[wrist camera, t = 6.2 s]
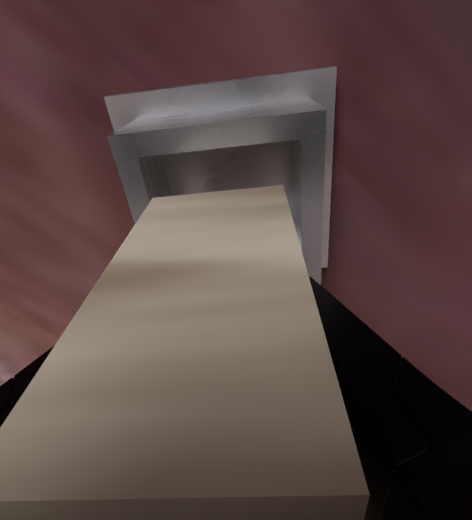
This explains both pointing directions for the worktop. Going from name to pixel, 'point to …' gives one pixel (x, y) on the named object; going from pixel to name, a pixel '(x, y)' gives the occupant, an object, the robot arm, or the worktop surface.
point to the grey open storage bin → (234, 144)
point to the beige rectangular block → (189, 382)
